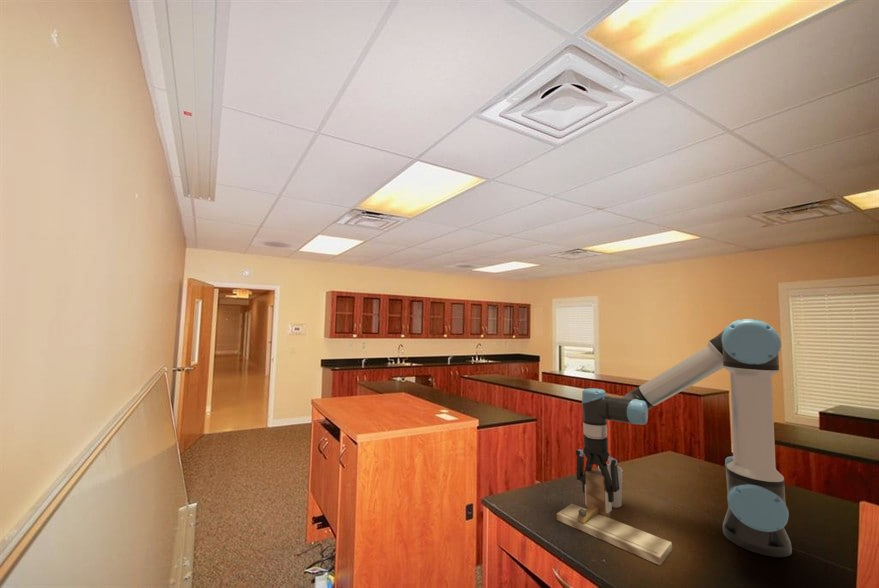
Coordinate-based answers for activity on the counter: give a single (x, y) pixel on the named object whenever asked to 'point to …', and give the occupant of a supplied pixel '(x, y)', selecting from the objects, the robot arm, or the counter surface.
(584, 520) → the gauge
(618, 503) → the cup
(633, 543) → the board
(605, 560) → the counter surface
